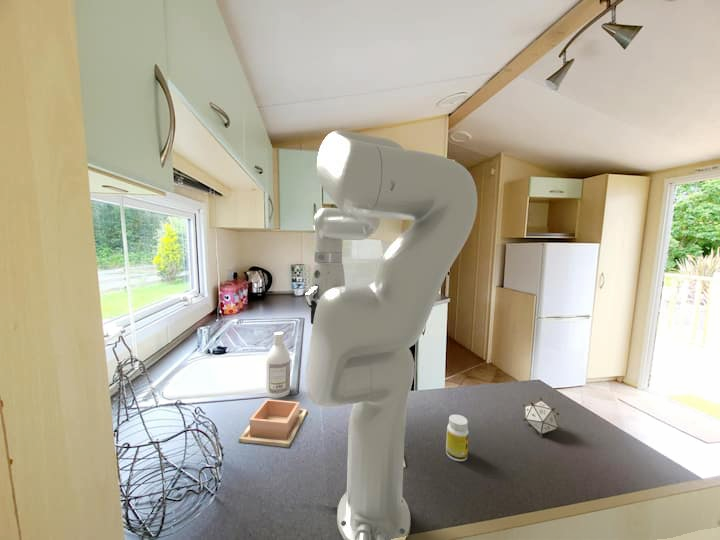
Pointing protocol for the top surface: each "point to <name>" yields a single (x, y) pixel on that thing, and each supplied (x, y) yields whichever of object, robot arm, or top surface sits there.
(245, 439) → the tray
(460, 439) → the supplement bottle
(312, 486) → the top surface
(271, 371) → the bath foam
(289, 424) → the peach square bin
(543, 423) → the game die
